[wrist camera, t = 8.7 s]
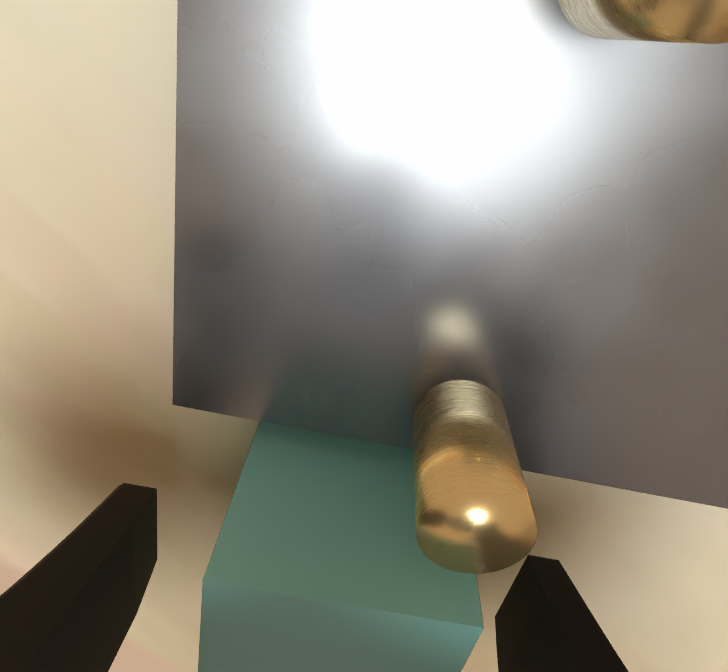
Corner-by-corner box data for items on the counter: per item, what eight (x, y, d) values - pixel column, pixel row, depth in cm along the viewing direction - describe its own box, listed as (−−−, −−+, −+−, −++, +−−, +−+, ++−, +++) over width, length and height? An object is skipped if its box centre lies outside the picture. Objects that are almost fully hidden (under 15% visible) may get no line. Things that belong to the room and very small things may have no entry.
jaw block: (412, 562, 13) (417, 755, 10) (250, 534, 13) (195, 720, 9) (457, 439, 11) (484, 627, 8) (266, 403, 11) (202, 580, 7)
